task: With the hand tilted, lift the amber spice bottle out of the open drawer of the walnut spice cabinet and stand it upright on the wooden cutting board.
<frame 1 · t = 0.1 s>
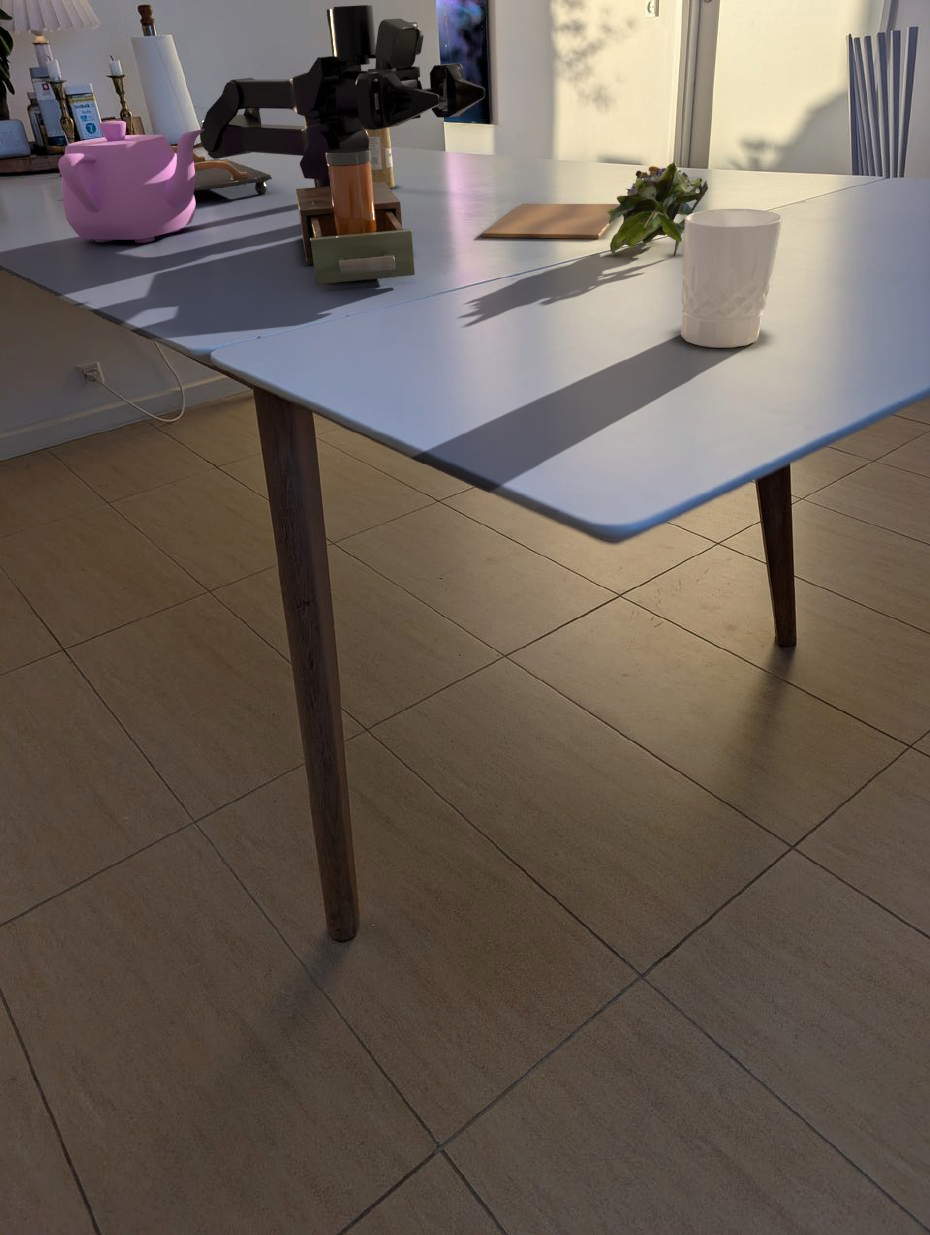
hand: (461, 96, 113), 17 cm above the table, tool horizontal, fingers open, 9 cm apart
white cup: (719, 339, 80), on the table
teapot: (143, 236, 133), on the table
spice bottle: (359, 255, 106), point 2 cm above the table, touching drawer
wooden cutting board: (557, 221, 127), on the table
green leafy plant: (656, 251, 109), on the table
sprinkles bottle: (382, 189, 160), on the table
drawer: (359, 246, 104), point 3 cm above the table, slide at 13.0 cm, touching spice bottle
spice cabinet: (351, 246, 119), on the table
serving tray: (192, 191, 169), on the table
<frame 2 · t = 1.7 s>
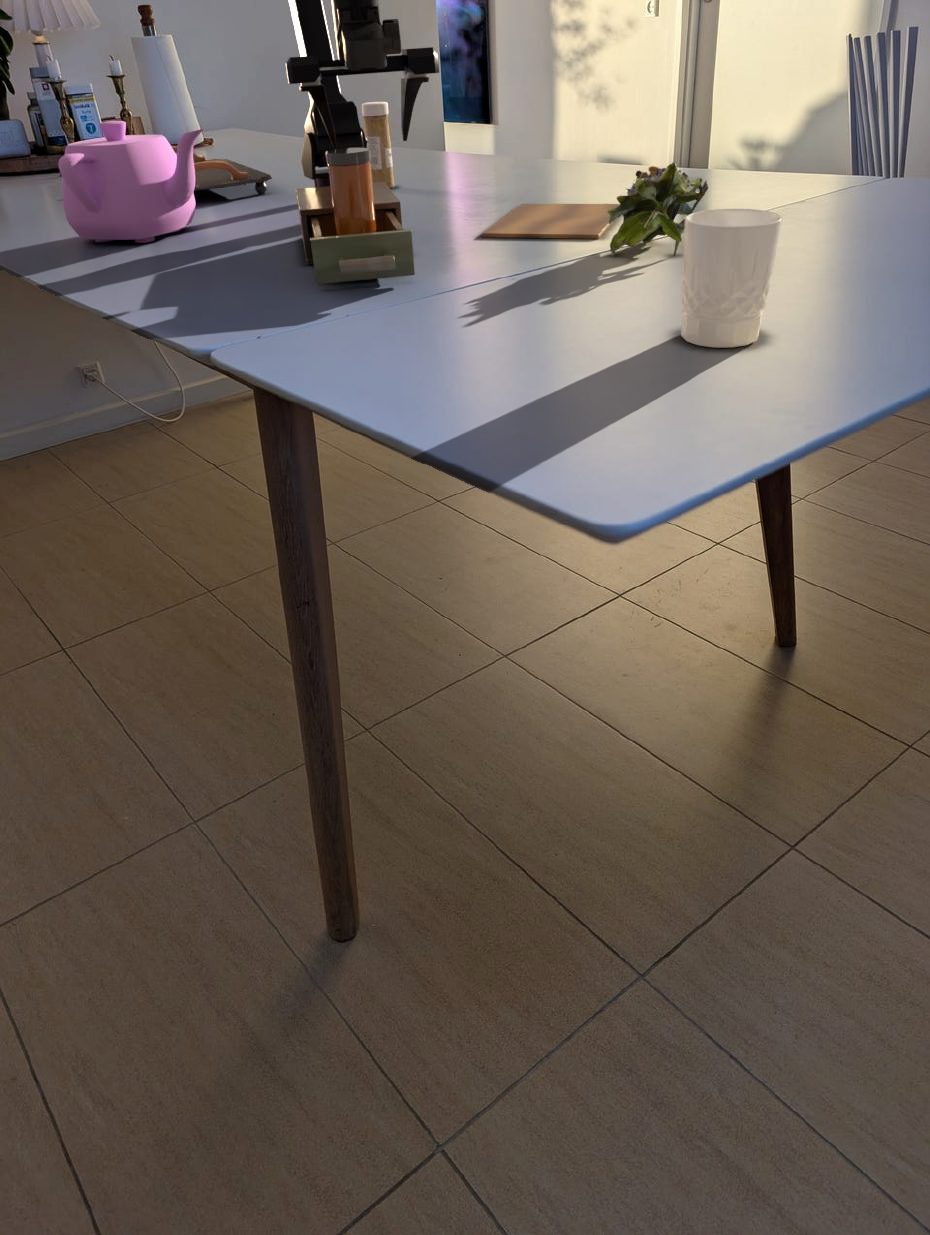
hand: (370, 143, 115), 12 cm above the table, tool pointing down, fingers open, 9 cm apart
nothing on the table moved.
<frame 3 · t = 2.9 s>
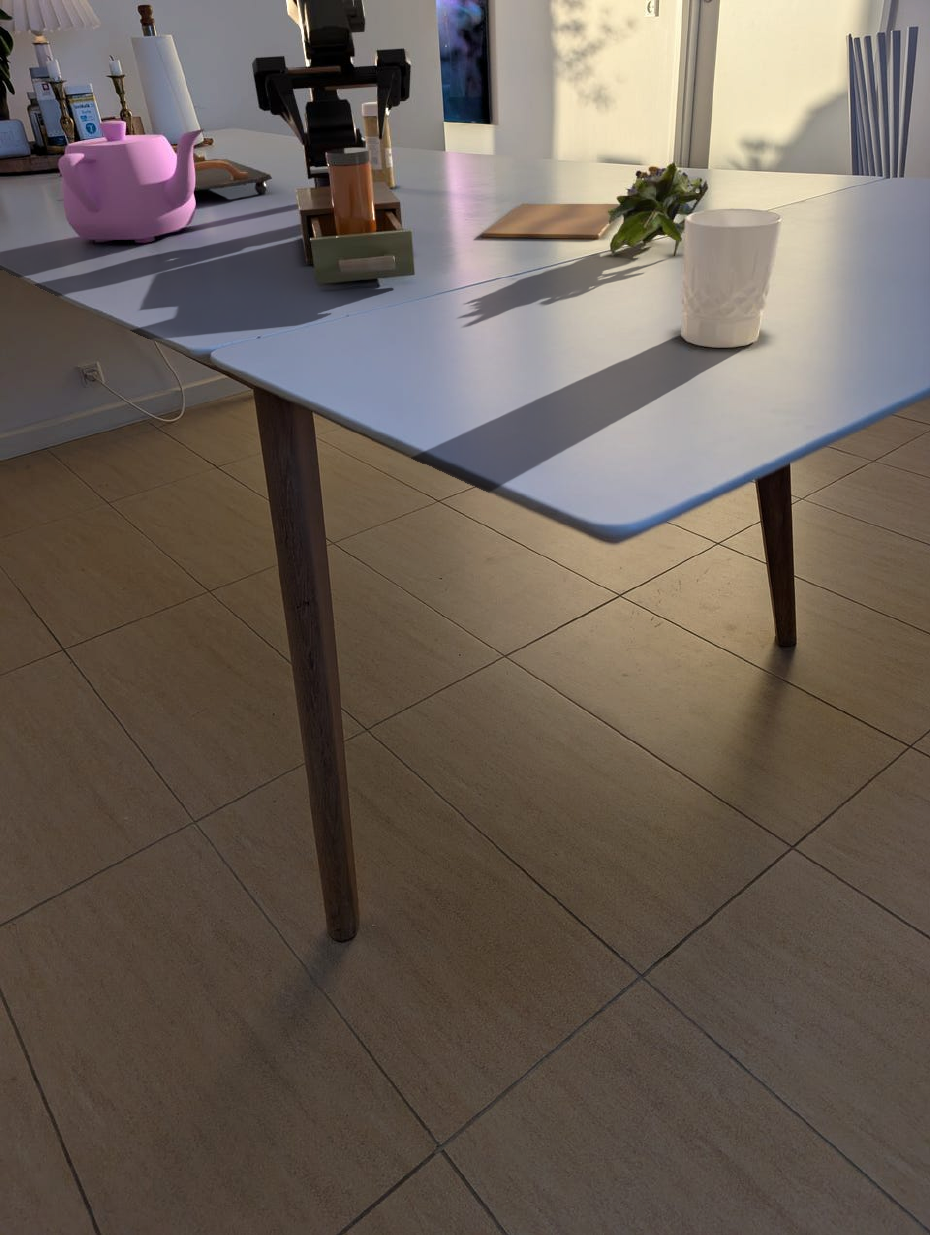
hand: (342, 139, 106), 13 cm above the table, tool tilted 45°, fingers open, 9 cm apart
nothing on the table moved.
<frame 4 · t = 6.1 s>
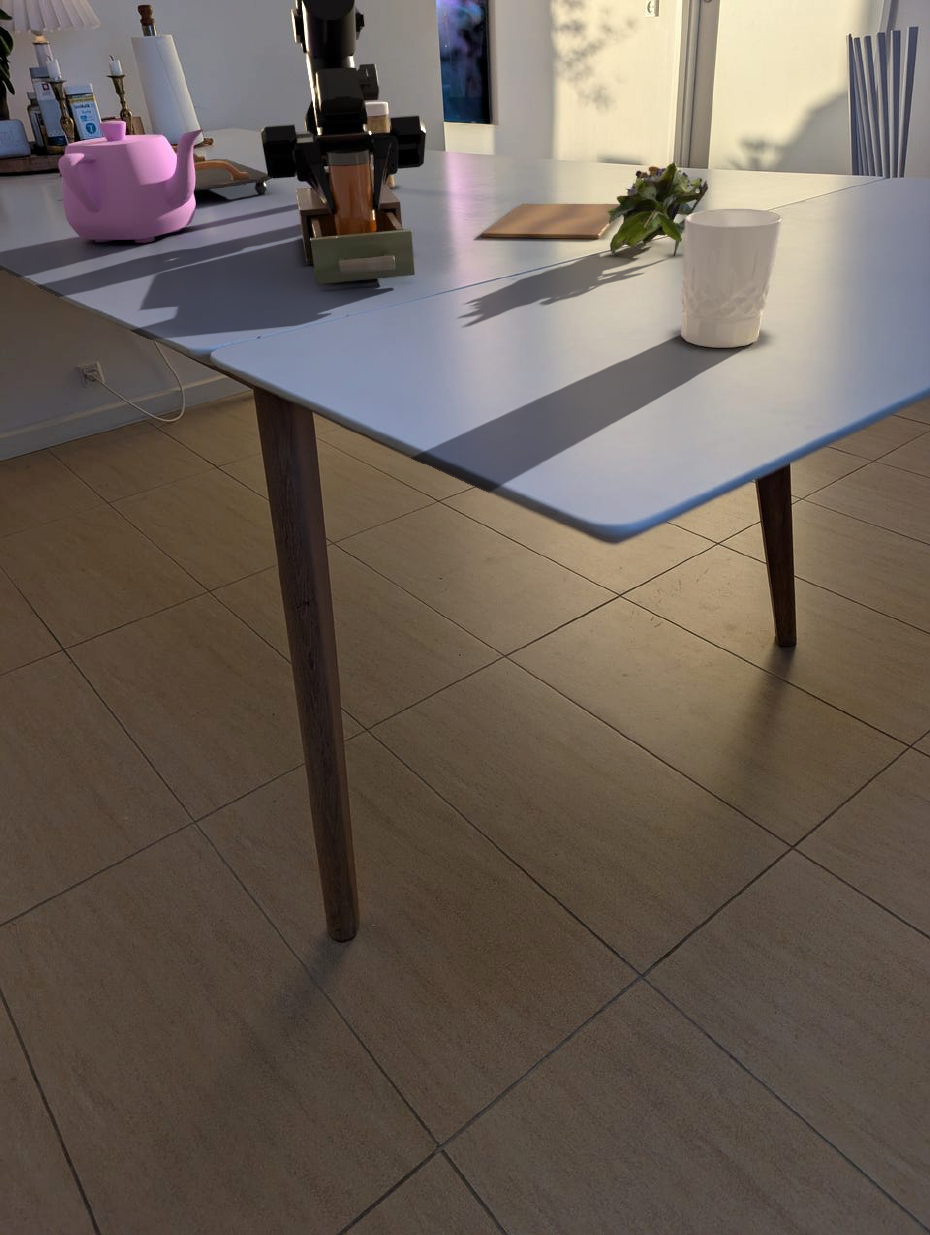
hand: (354, 210, 102), 7 cm above the table, tool tilted 45°, fingers closed on spice bottle, 5 cm apart
spice bottle: (359, 255, 106), point 2 cm above the table, touching drawer, gripper
everything else where it was.
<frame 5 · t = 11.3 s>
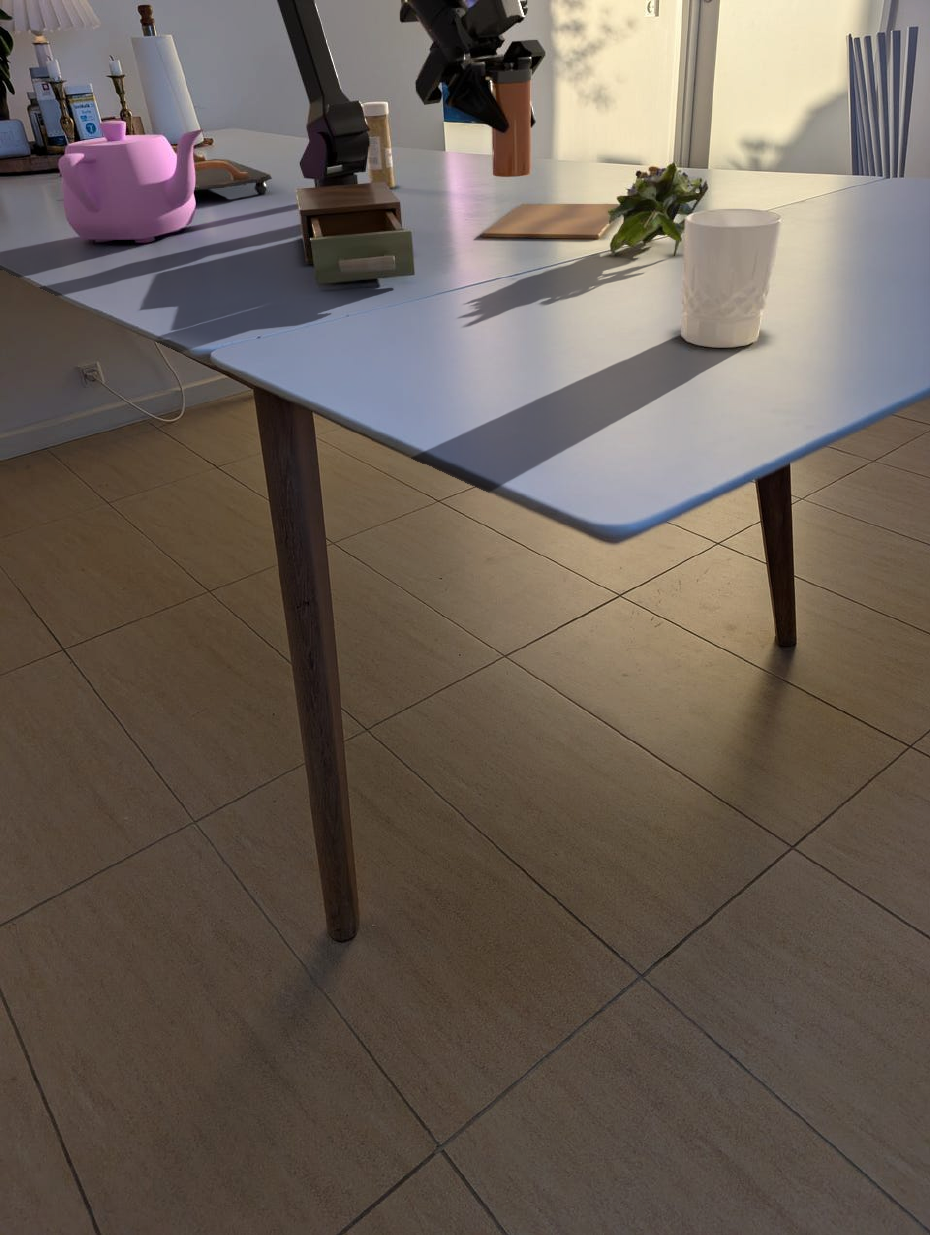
hand: (519, 127, 108), 13 cm above the table, tool tilted 45°, fingers closed on spice bottle, 5 cm apart
spice bottle: (511, 174, 111), point 8 cm above the table, touching gripper
drawer: (359, 246, 104), point 3 cm above the table, slide at 13.0 cm
everything else where it was.
when the fingers open (6 cm above the table, at t = 16.6 s): spice bottle stays where it is, resting on wooden cutting board.
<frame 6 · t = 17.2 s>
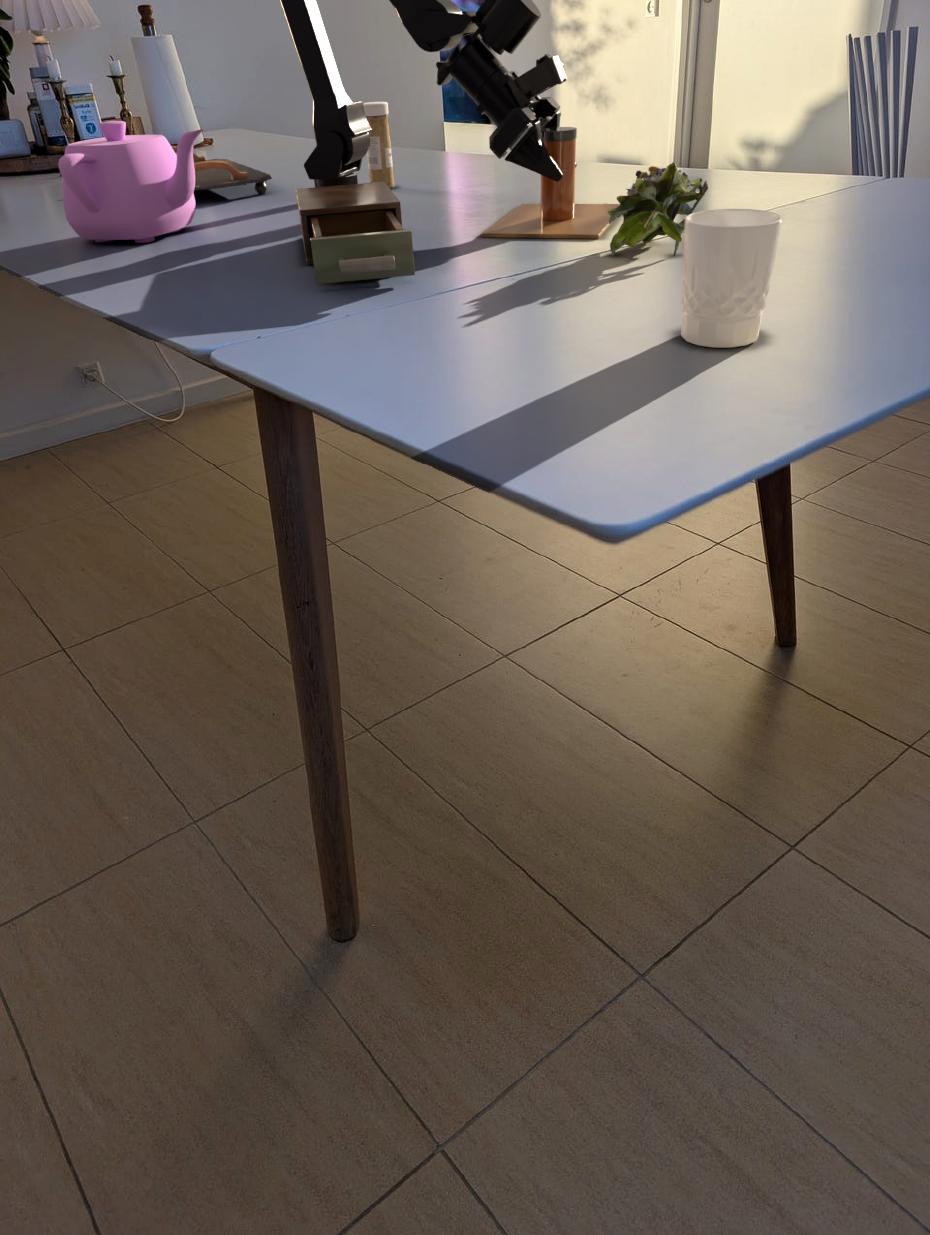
hand: (567, 173, 123), 6 cm above the table, tool tilted 45°, fingers open, 9 cm apart
spice bottle: (557, 217, 127), resting on wooden cutting board
everything else where it was.
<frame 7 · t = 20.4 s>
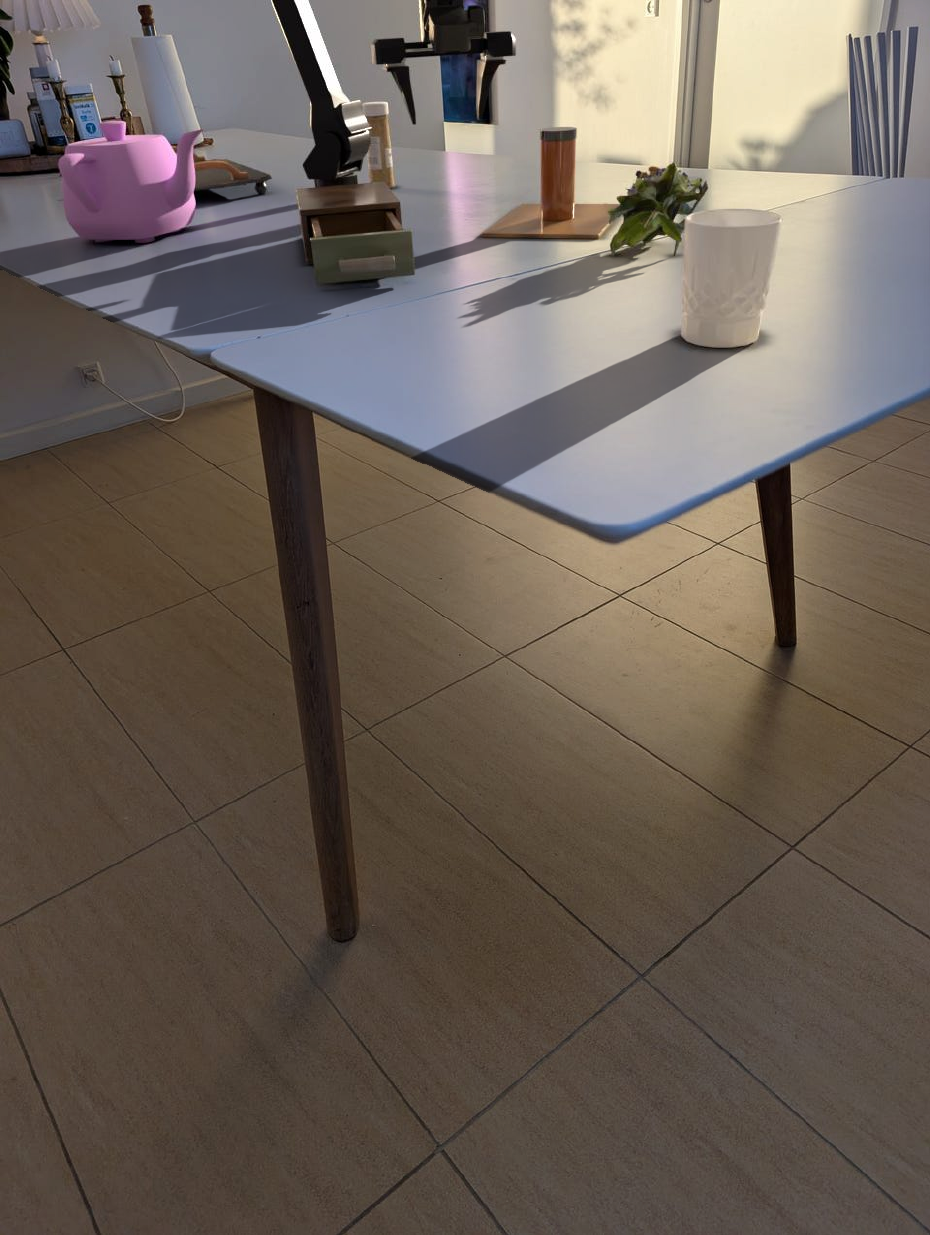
hand: (446, 122, 123), 13 cm above the table, tool pointing down, fingers open, 9 cm apart
nothing on the table moved.
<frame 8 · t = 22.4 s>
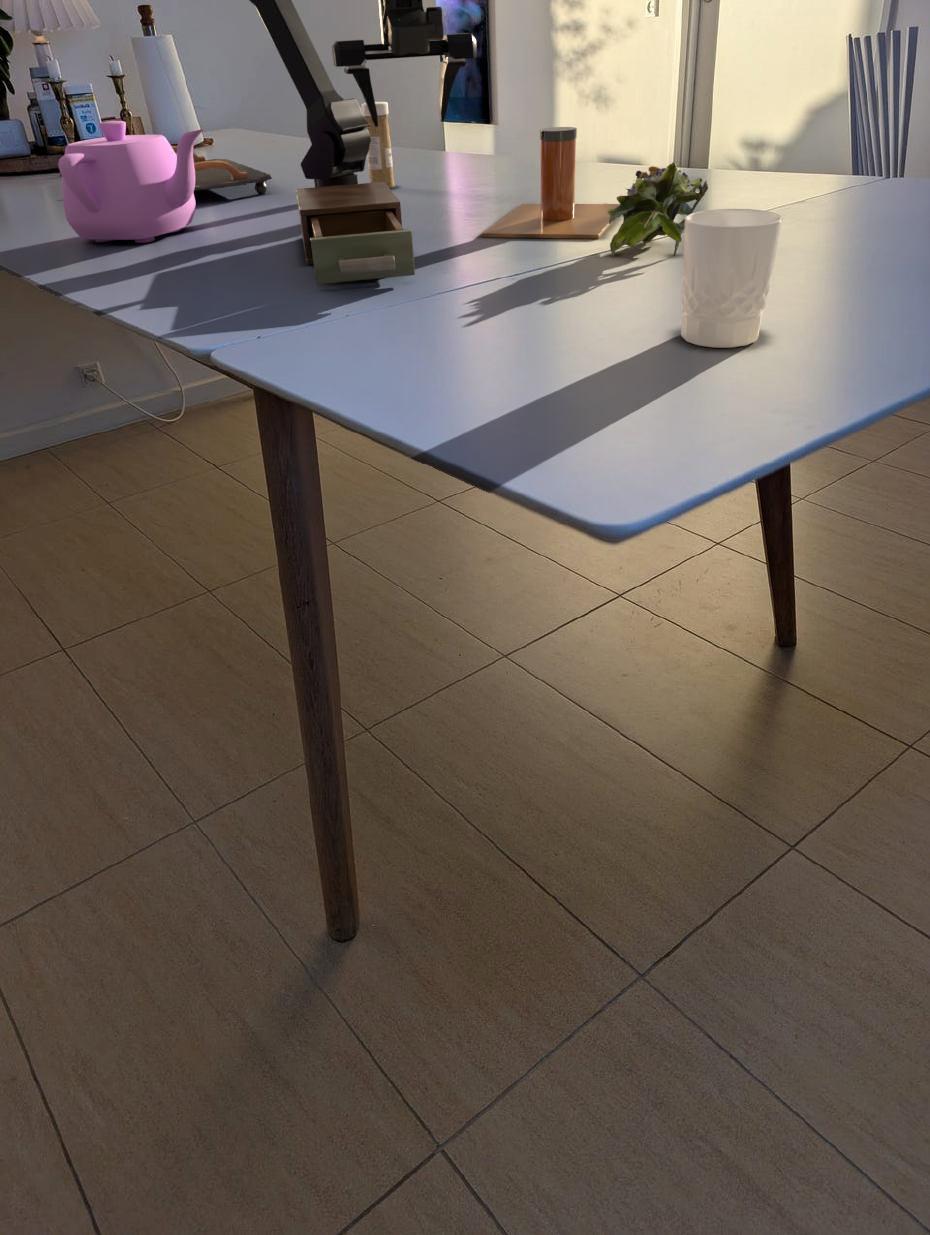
hand: (409, 124, 122), 13 cm above the table, tool pointing down, fingers open, 9 cm apart
nothing on the table moved.
at the end: spice bottle inside the target area on the wooden cutting board (0.0 cm from its centre), point 0.5 cm above the wooden cutting board's base; spice bottle tilted 0°; spice bottle touching wooden cutting board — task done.
